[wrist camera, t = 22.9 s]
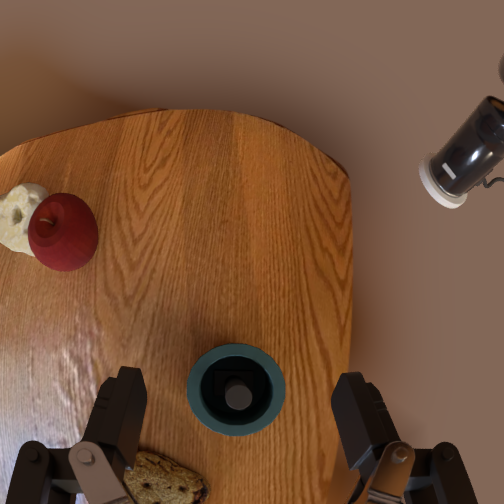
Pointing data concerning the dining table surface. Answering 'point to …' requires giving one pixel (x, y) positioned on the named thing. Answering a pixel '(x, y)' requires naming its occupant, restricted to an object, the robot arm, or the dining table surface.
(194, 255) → the dining table surface
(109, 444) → the robot arm
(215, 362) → the crock
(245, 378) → the t-shaped mushroom stamp
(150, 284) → the dining table surface
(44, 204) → the apple
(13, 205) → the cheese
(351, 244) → the dining table surface
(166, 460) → the pastry
